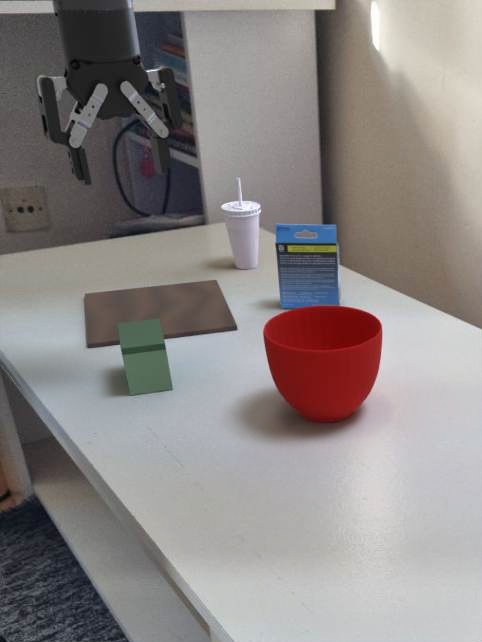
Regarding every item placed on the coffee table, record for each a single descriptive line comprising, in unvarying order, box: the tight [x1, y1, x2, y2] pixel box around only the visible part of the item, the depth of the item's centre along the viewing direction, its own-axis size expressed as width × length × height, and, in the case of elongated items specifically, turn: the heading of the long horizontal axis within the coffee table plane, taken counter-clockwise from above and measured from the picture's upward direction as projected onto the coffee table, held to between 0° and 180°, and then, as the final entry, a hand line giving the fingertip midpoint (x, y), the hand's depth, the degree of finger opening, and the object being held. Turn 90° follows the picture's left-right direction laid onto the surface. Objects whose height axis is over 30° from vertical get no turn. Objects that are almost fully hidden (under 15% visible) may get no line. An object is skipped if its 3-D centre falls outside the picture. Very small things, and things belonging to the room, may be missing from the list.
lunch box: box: [118, 319, 174, 396], centre depth 98 cm, size 5×8×6 cm, turn 18°
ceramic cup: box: [262, 305, 383, 423], centre depth 91 cm, size 13×17×10 cm
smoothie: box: [220, 177, 262, 270], centre depth 131 cm, size 6×6×14 cm
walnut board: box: [84, 279, 239, 349], centre depth 117 cm, size 20×20×1 cm
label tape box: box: [274, 223, 342, 310], centre depth 116 cm, size 9×4×12 cm, turn 89°
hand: (124, 178), depth 88 cm, fingers open, 8 cm apart
